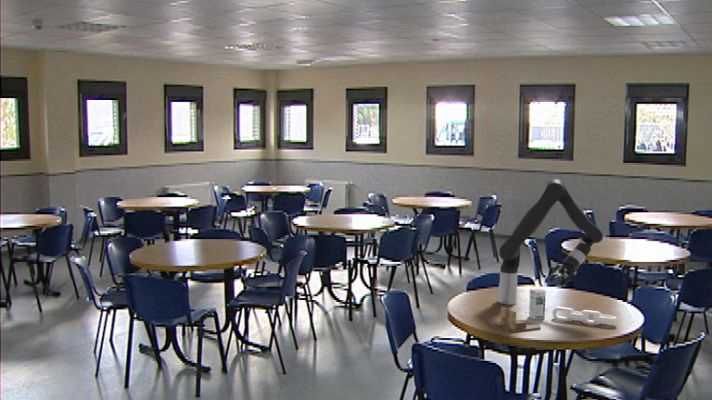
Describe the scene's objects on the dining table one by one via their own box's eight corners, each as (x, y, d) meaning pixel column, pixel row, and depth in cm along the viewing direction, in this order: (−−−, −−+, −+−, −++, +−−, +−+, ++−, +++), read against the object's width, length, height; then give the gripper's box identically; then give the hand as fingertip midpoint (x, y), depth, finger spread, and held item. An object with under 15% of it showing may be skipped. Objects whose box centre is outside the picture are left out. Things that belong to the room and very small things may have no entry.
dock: (495, 324, 336) (495, 306, 335) (522, 321, 342) (523, 303, 341) (512, 332, 323) (513, 313, 322) (540, 329, 329) (541, 310, 328)
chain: (551, 320, 346) (552, 308, 345) (553, 317, 352) (554, 305, 351) (615, 328, 335) (616, 315, 334) (616, 325, 340) (617, 312, 340)
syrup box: (534, 319, 345) (535, 291, 344) (528, 316, 351) (529, 288, 350) (544, 319, 347) (546, 290, 345) (538, 316, 353) (540, 288, 351)
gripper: (561, 252, 360) (542, 275, 357) (580, 257, 347) (560, 281, 344) (568, 262, 363) (549, 285, 359) (587, 267, 350) (568, 291, 346)
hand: (555, 283), depth 352 cm, fingers open, 8 cm apart
